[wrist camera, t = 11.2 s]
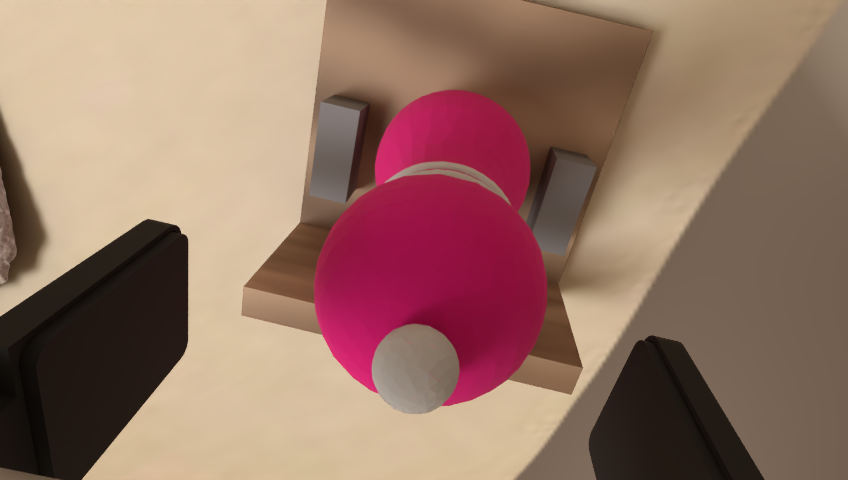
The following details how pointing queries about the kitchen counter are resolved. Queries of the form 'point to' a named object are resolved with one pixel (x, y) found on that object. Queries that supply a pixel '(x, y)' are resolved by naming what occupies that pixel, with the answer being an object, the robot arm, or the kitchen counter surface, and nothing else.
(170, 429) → the kitchen counter surface
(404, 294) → the pepper mill
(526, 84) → the pegged stand
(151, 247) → the robot arm
